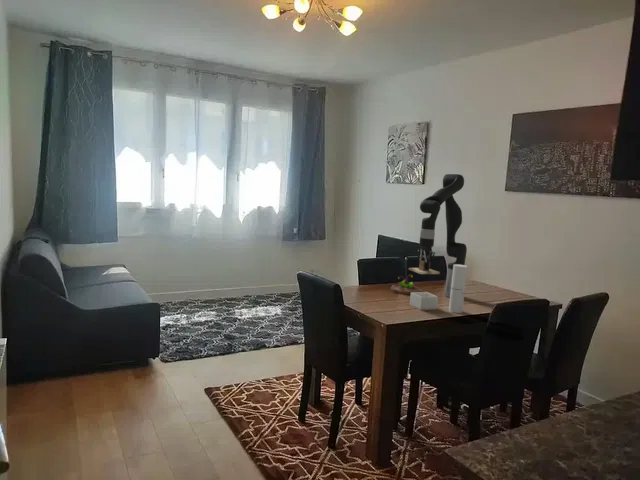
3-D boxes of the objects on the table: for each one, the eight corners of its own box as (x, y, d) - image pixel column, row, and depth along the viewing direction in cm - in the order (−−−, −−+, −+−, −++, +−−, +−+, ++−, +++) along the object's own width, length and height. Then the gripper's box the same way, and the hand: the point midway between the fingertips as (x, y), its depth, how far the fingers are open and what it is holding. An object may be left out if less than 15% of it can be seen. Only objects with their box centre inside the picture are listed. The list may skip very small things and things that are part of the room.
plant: (420, 297, 278) (422, 279, 277) (388, 293, 283) (389, 275, 282) (423, 290, 297) (425, 273, 296) (392, 286, 303) (394, 270, 301)
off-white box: (425, 304, 262) (426, 292, 261) (436, 309, 252) (438, 296, 251) (409, 304, 258) (410, 292, 257) (420, 310, 248) (421, 297, 247)
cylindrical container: (446, 309, 254) (451, 264, 251) (459, 309, 254) (464, 264, 251) (451, 312, 247) (456, 266, 244) (464, 313, 247) (469, 267, 244)
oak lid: (426, 269, 260) (427, 258, 259) (439, 273, 249) (440, 262, 248) (408, 269, 256) (409, 258, 255) (420, 274, 245) (421, 262, 244)
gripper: (441, 239, 245) (437, 271, 247) (425, 235, 258) (422, 266, 260) (429, 239, 242) (425, 271, 244) (413, 235, 255) (411, 266, 257)
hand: (424, 268), depth 252 cm, fingers closed on oak lid, 4 cm apart
